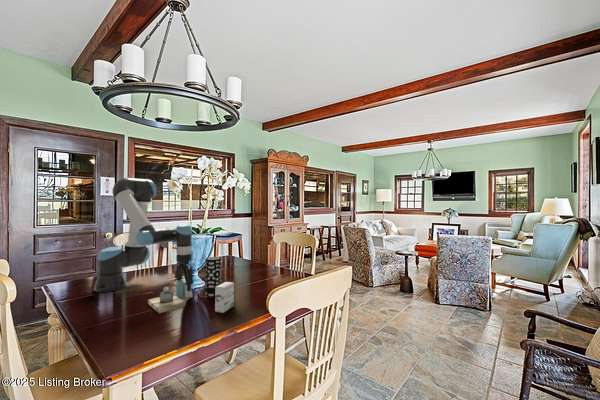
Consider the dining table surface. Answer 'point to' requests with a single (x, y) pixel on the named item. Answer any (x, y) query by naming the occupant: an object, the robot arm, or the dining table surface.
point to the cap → (181, 288)
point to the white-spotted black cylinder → (212, 275)
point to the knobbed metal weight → (166, 295)
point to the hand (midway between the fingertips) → (183, 294)
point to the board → (166, 304)
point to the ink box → (224, 297)
